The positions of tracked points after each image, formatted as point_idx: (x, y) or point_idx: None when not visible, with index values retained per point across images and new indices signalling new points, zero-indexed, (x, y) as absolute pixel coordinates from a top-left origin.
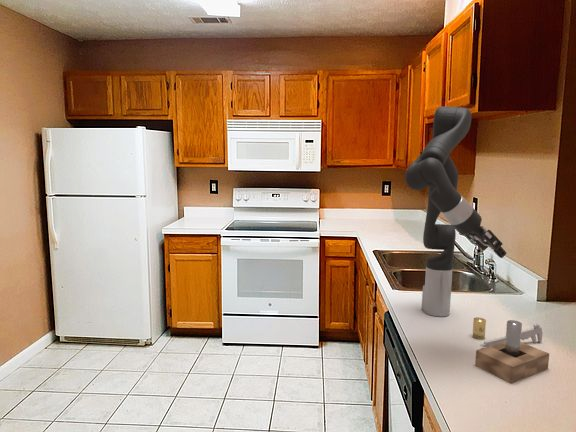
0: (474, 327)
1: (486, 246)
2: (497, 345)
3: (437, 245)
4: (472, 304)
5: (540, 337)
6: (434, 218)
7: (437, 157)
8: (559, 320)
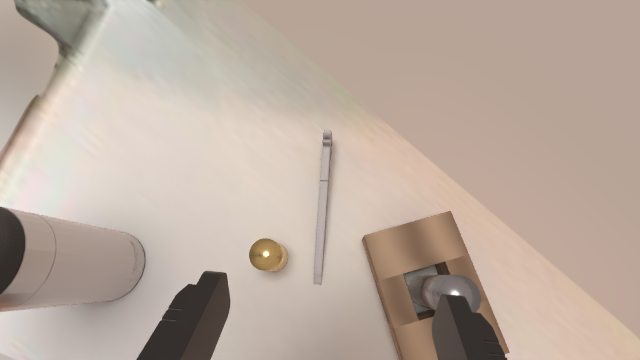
0: (268, 270)
1: (222, 290)
2: (395, 302)
3: None
4: (108, 142)
5: (331, 140)
6: None
7: None
8: (250, 33)
